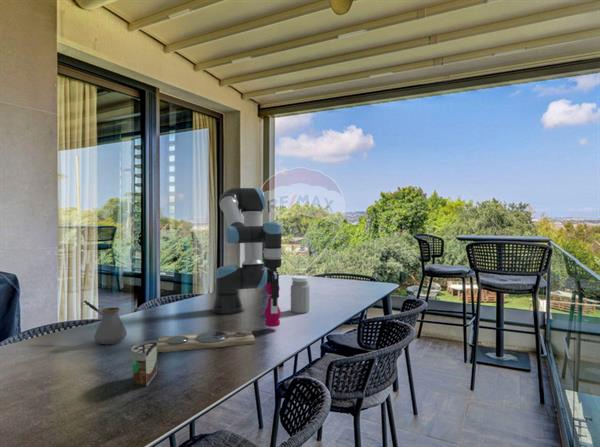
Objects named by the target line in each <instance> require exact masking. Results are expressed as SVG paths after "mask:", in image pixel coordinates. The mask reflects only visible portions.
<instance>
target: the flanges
mask: <svg viewBox="0 0 600 447" xmlns="http://www.w3.org/2000/svg"><path fill="white" fill-rule="evenodd" d="M201 333H202V332H201ZM198 334H199V333H198ZM244 336H246V333H245V332H237V333H235V337H244ZM227 337H228V335H227V334H226V333H224V332H222V331H207V332H206V331H205V332H203V333H202V334H199V335H198V336H197V337H196V340H197V341H198V342H202V343H215V342H220V341H223V340H225V339H227Z"/></svg>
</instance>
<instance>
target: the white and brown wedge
mask: <svg viewBox="0 0 600 447" xmlns="http://www.w3.org/2000/svg"><path fill="white" fill-rule="evenodd" d="M157 346H158V340H157V339H152V340H146V341H142V342H139V343H136V344H134V345H133V346H132V347H131V349H130V351H129V359H131V363H132V373H133V383H134V385H136V386H138V387H148V385H150V383H151V381H152V380H153V379H154V378H155V376H156V375H157V371H158V353H157Z"/></svg>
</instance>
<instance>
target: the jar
mask: <svg viewBox="0 0 600 447" xmlns="http://www.w3.org/2000/svg"><path fill="white" fill-rule="evenodd" d="M291 280H292V284H291V286H290V311H291V312H292V313H294V314H307V313H309V311H310V309H311V308H310V301H311V300H310V292H311V291H310V289H311V288H310V287H311V286H310V285H309V277H308V276H307V275H294V276H293V275H292V276H291Z"/></svg>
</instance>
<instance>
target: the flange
mask: <svg viewBox="0 0 600 447" xmlns="http://www.w3.org/2000/svg"><path fill="white" fill-rule="evenodd" d="M173 336H174V337H170V338H168V339H167V340H166V343H167V344H182V343H185V342H187V341H188V337H186V336H175V335H173Z"/></svg>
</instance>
